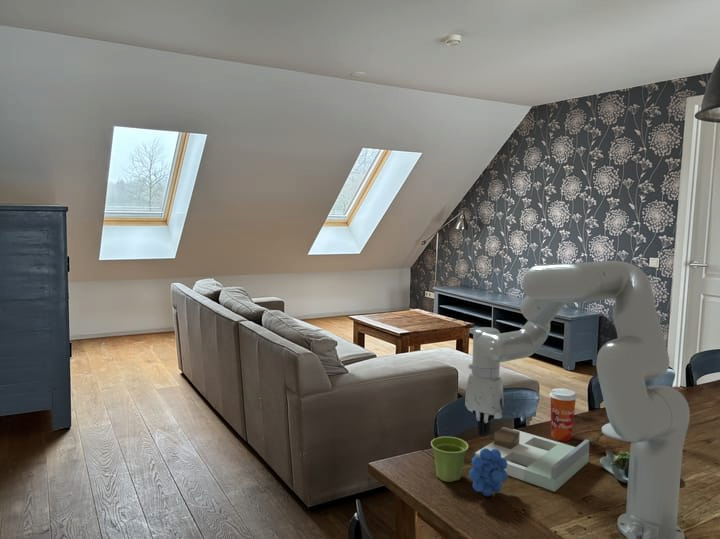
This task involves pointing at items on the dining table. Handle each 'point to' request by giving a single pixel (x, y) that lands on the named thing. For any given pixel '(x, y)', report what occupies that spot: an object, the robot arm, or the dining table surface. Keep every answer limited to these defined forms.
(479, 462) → the grapes
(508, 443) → the block
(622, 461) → the salad plate
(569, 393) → the paper cup
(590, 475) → the dining table surface
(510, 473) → the white compartment tray
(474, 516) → the dining table surface
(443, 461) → the plant pot
